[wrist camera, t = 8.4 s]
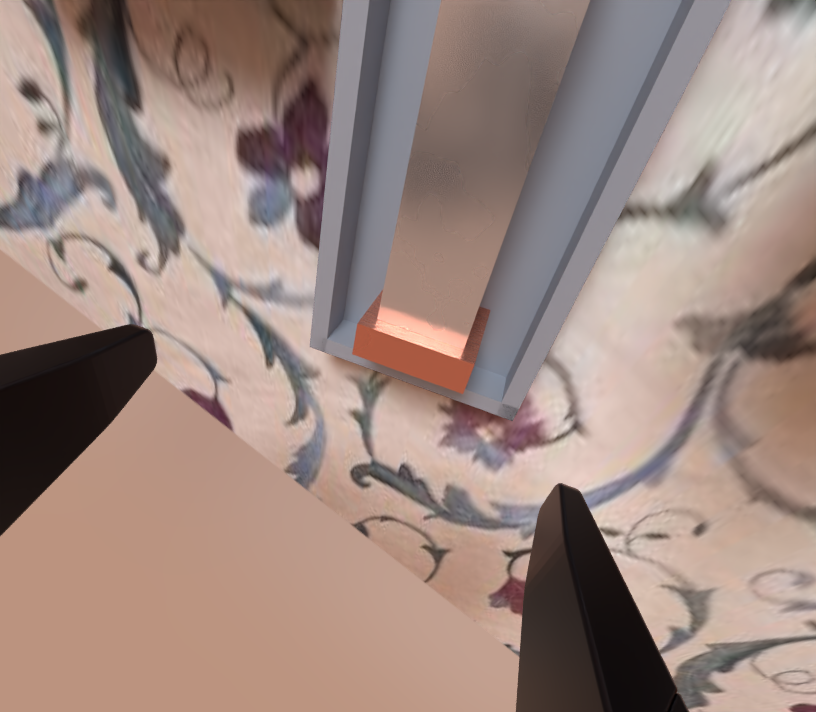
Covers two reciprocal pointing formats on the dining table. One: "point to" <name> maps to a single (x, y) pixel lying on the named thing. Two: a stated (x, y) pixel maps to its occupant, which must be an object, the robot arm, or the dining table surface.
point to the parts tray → (542, 190)
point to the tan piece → (465, 179)
